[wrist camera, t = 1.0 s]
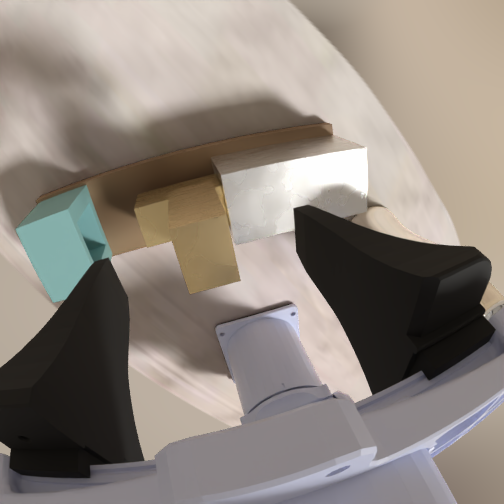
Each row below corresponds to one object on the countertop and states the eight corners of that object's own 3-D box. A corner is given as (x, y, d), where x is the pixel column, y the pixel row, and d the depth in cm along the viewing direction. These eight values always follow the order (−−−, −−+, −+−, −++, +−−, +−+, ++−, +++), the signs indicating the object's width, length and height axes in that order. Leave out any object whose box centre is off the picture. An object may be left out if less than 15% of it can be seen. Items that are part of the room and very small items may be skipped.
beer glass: (324, 255, 28) (423, 382, 15) (363, 188, 25) (497, 287, 13) (373, 274, 31) (464, 379, 18) (409, 217, 28) (520, 306, 16)
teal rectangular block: (112, 253, 22) (103, 289, 18) (68, 266, 21) (53, 302, 17) (86, 184, 19) (68, 208, 15) (39, 202, 18) (15, 229, 14)
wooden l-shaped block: (330, 190, 22) (390, 237, 16) (151, 235, 21) (146, 305, 14) (327, 145, 21) (394, 176, 14) (135, 188, 19) (119, 243, 12)
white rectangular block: (336, 189, 24) (367, 211, 20) (223, 215, 22) (235, 245, 19) (332, 134, 21) (366, 147, 17) (210, 157, 20) (220, 175, 16)
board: (330, 194, 25) (336, 198, 24) (69, 263, 22) (66, 270, 21) (325, 122, 22) (332, 124, 21) (40, 196, 19) (35, 200, 18)
